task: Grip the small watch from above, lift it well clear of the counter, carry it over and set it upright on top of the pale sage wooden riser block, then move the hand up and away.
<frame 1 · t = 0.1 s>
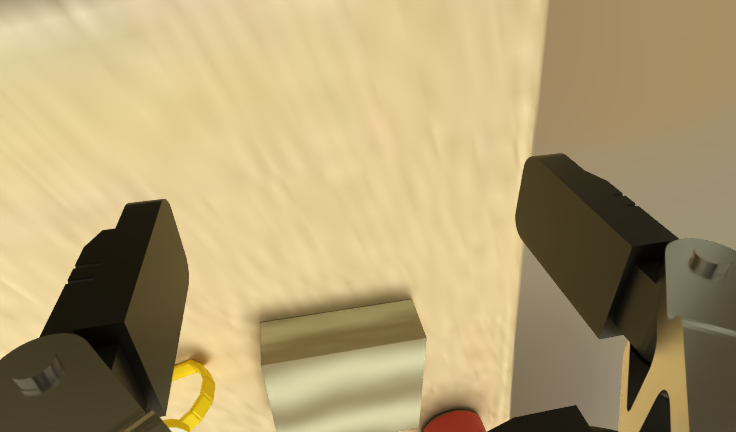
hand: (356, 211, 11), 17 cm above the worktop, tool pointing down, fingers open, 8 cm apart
watch: (178, 368, 38), on the worktop
riser: (341, 359, 41), on the worktop
beer can: (449, 423, 51), on the worktop
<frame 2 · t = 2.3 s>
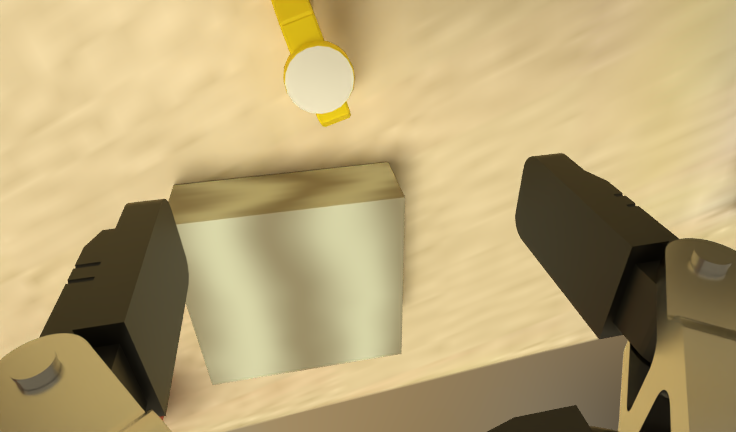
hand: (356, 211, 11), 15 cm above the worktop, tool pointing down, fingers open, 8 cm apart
watch: (307, 41, 23), on the worktop
riser: (295, 256, 30), on the worktop
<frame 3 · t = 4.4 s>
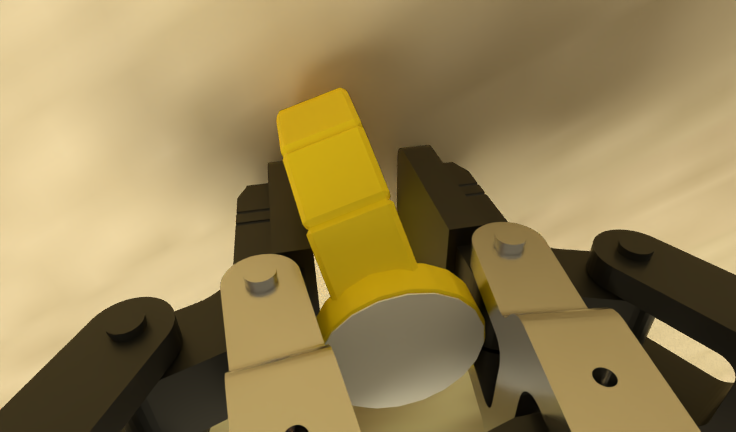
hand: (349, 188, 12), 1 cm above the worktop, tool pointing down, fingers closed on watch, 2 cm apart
watch: (344, 172, 12), on the worktop, touching gripper
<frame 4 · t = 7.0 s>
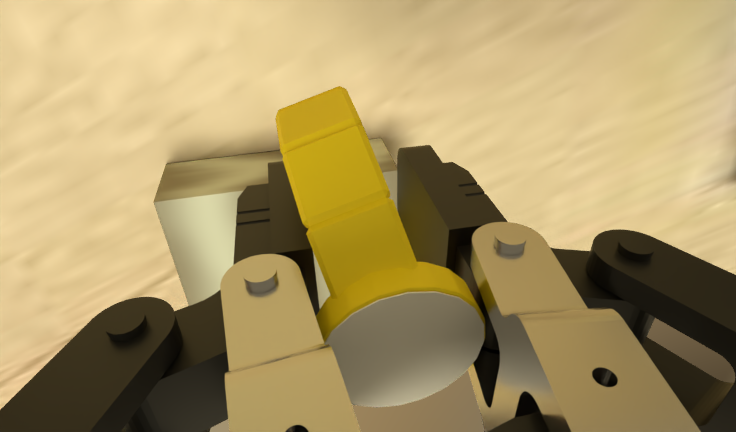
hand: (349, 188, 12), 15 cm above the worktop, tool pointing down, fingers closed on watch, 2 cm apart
watch: (344, 171, 12), point 14 cm above the worktop, touching gripper
riser: (290, 236, 30), on the worktop
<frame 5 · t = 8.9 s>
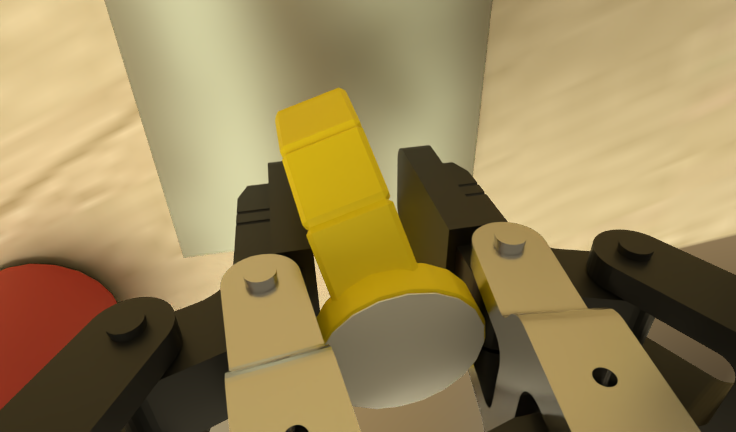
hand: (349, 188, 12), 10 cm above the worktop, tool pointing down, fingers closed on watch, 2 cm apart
watch: (343, 172, 12), point 9 cm above the worktop, touching gripper
riser: (310, 67, 20), on the worktop
beer can: (54, 305, 24), on the worktop
when the fingers open (6 cm above the worktop, at t = 10.0 s): watch drops 1 cm, resting on riser.
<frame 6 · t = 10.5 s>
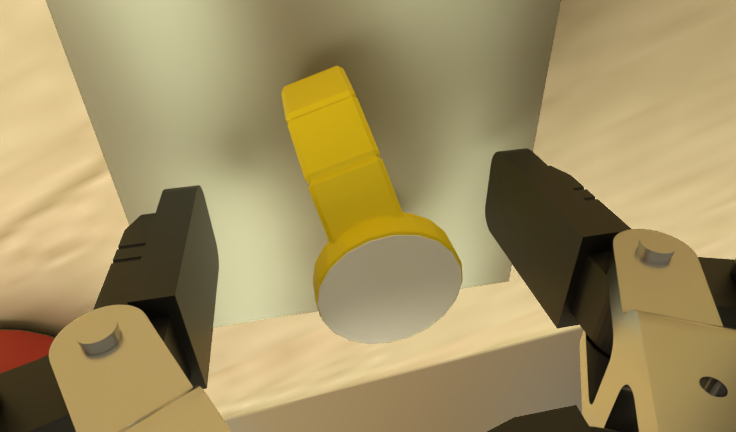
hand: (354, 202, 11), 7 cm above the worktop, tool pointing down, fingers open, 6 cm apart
watch: (342, 148, 14), point 4 cm above the worktop, touching riser
riser: (321, 102, 17), on the worktop
beer can: (24, 370, 21), on the worktop
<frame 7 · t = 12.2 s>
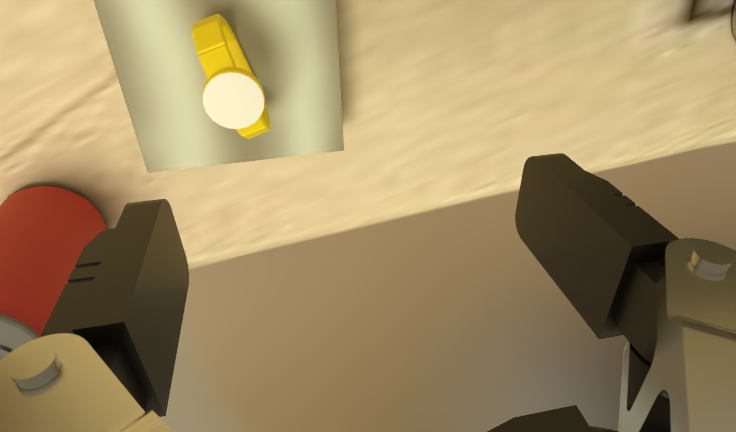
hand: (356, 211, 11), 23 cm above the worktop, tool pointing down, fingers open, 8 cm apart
watch: (235, 63, 27), point 4 cm above the worktop, touching riser
riser: (233, 46, 30), on the worktop
beer can: (57, 221, 34), on the worktop
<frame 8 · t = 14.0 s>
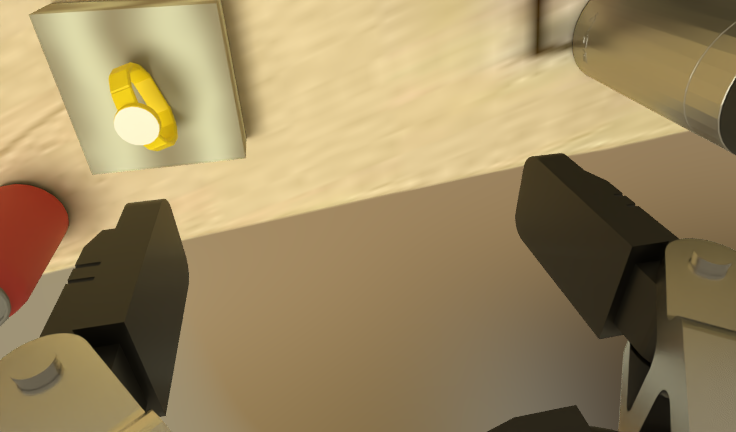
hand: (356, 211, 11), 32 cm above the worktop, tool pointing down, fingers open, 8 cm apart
watch: (152, 94, 36), point 4 cm above the worktop, touching riser
riser: (159, 78, 39), on the worktop
beer can: (30, 211, 43), on the worktop
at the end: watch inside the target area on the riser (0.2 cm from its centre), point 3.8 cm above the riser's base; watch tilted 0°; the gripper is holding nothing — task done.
